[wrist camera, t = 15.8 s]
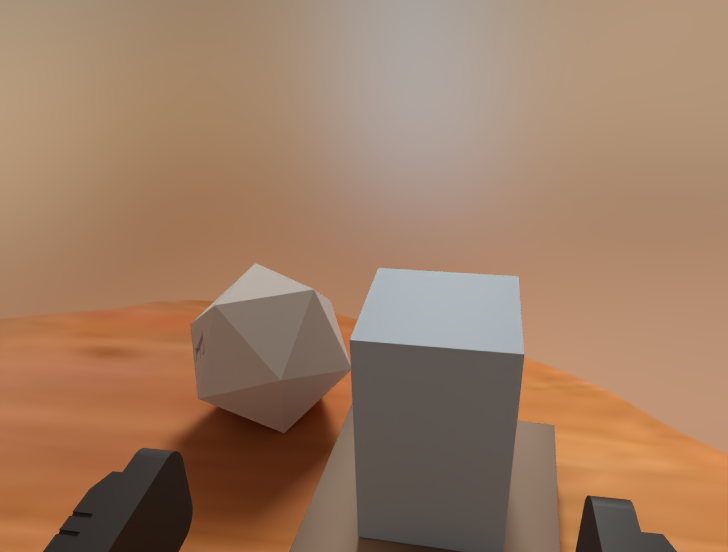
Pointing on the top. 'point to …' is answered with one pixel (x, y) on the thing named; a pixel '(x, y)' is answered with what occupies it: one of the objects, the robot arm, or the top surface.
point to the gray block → (436, 407)
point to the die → (268, 349)
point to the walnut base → (521, 547)
